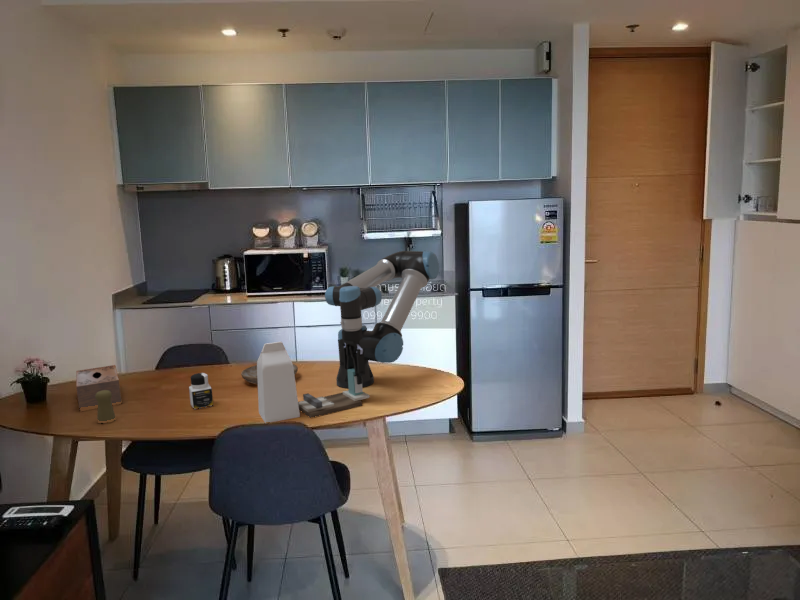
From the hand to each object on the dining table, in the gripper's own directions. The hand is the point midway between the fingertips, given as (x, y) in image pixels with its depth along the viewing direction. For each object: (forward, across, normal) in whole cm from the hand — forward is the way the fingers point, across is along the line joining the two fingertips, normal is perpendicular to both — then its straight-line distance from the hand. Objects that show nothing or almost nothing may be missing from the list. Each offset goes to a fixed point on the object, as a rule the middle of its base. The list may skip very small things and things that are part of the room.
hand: (355, 390), depth 226 cm
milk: (+4, -3, -29) cm, 29 cm away
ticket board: (+4, 0, -11) cm, 12 cm away
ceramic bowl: (+4, -46, -16) cm, 49 cm away
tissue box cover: (+4, -67, -79) cm, 104 cm away
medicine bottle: (+4, -32, -48) cm, 58 cm away
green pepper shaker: (+4, -37, -80) cm, 88 cm away
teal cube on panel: (+2, 0, 0) cm, 2 cm away
